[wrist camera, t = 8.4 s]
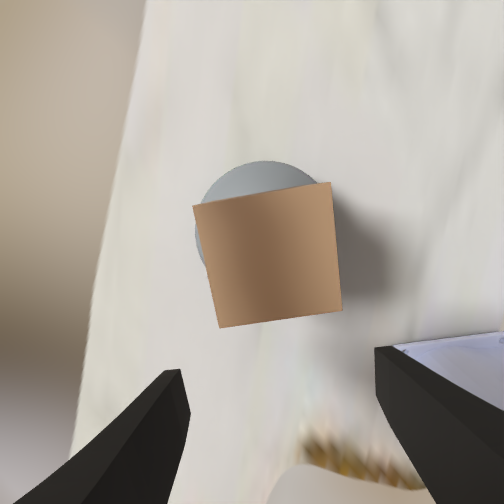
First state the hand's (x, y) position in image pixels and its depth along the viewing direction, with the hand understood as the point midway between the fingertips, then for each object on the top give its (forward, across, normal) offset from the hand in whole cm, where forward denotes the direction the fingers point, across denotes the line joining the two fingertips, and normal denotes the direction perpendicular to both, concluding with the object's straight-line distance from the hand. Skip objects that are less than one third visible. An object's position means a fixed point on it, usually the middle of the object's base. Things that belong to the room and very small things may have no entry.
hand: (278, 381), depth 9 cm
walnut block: (+6, 0, -4) cm, 8 cm away
